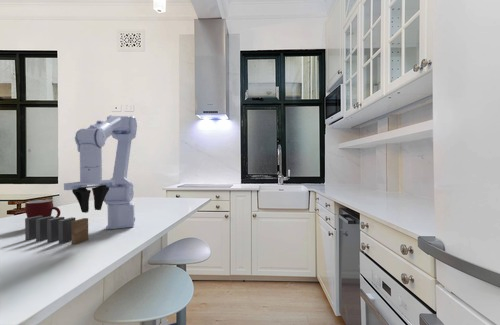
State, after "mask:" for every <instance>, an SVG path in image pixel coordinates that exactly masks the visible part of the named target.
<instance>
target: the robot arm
mask: <svg viewBox="0 0 500 325" xmlns="http://www.w3.org/2000/svg"><path fill="white" fill-rule="evenodd" d="M137 130H138V123H137V118H136V117H135V116H134V115H108V116H107V117H106V120H105V121H103V120H97V121H95V124H90V125H89V126H88V127H87V128H80V129H78V130H77V131H76V132H75V137H74V141H75V144H76V146H77V152H78V153H79V181H75V182H65V183H63V190H64V191H71V192H72V194H73V195H74V196H75V199H76V200H77V202H78V203H79V208H80V211H81V213H84V214H86V213H89V210H90V208H89V207H90V205H89V204H90V203H89V202H90V197H91V196H90V195H91V193H92V195H93V202H94V203H93V207H94V210H95V211H101V210H102V208H103V203H105V205H107V225H106V226H105V227H104V229H105V230H115V229H116V230H117V229H127V228H134V226H135V222H136V217H135V202H132V201H133V199H134V184H133V182H132V181H131V180H129V179H127V178H128V171H129V163H130V162H129V161H130V155H131V154H130V153H131V148H132V140H134V139H135V138H136V136H137ZM109 137H112V138H113V139H115V140H117V146H116V151H115V153H116V154H115V158H114V159H115V160H114V167H113V173H112V178H110V179H103V168H102V166H103V165H102V164H103V160H102V159H103V158H102V154H103V153H102V152H103V150H102V148H103V147H104V146H105V144H106V141H107V139H108V138H109Z"/></svg>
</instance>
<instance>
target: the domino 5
mask: <svg viewBox="0 0 500 325" xmlns="http://www.w3.org/2000/svg"><path fill="white" fill-rule="evenodd" d="M71 222H72V240H71V245H78V244H82V243H84V242H86V241H89V218H88V217H84V218H79V219H75V221H71Z"/></svg>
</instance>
